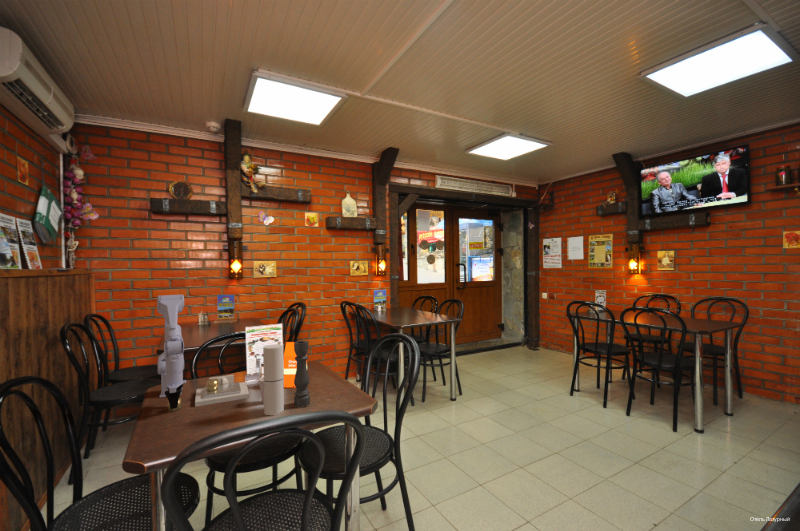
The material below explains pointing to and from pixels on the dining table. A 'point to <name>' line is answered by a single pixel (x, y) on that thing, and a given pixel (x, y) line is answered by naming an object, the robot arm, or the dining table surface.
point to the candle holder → (301, 374)
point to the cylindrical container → (273, 379)
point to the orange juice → (290, 365)
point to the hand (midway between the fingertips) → (174, 405)
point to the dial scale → (221, 398)
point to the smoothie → (262, 388)
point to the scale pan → (223, 390)
